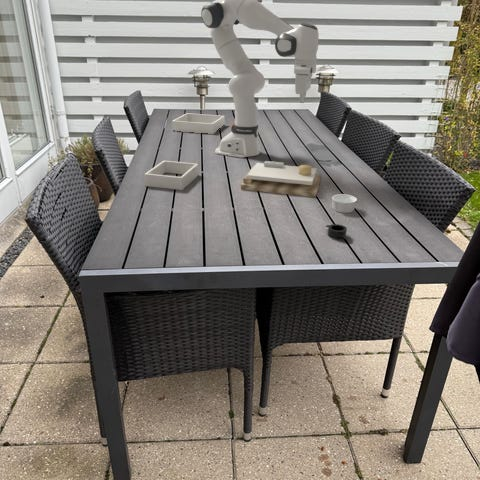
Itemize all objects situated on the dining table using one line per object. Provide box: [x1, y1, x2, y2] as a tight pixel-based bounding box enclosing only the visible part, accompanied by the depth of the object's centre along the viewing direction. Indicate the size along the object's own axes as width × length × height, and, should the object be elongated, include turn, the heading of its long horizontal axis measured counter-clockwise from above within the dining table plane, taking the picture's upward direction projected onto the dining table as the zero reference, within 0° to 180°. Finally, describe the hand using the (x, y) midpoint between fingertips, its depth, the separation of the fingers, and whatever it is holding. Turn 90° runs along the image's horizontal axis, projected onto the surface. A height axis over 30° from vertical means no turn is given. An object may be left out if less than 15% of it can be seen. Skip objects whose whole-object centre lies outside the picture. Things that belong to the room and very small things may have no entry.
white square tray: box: [171, 112, 226, 135], centre depth 282 cm, size 25×25×6 cm
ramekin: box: [331, 193, 358, 214], centre depth 169 cm, size 9×9×4 cm
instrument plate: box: [246, 160, 318, 185], centre depth 190 cm, size 26×18×4 cm
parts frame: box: [143, 160, 200, 191], centre depth 193 cm, size 16×20×5 cm
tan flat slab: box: [240, 165, 322, 198], centre depth 192 cm, size 30×22×4 cm
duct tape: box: [324, 223, 351, 240], centre depth 149 cm, size 8×10×3 cm
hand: (302, 102), depth 195 cm, fingers closed
